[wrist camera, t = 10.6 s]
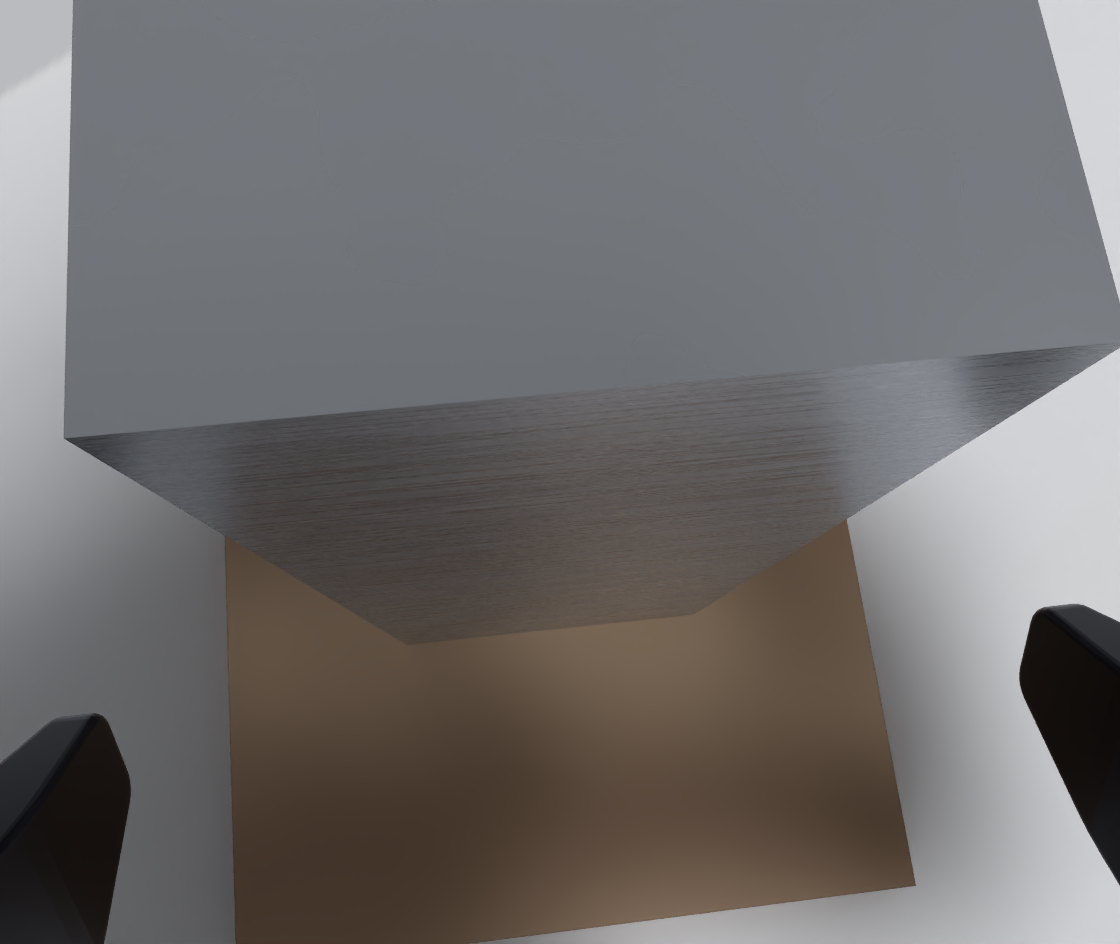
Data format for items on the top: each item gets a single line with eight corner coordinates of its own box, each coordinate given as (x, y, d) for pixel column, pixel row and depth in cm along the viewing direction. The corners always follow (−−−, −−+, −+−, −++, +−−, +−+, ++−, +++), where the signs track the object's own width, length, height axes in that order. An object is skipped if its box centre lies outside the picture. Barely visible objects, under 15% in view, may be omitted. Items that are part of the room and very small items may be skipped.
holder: (897, 877, 16) (976, 912, 14) (250, 961, 16) (188, 1015, 13) (756, 117, 20) (794, 16, 17) (226, 160, 20) (173, 62, 17)
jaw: (646, 277, 18) (877, -589, 6) (694, 614, 17) (1130, 340, 5) (383, 298, 18) (84, -565, 6) (406, 644, 16) (61, 438, 4)
